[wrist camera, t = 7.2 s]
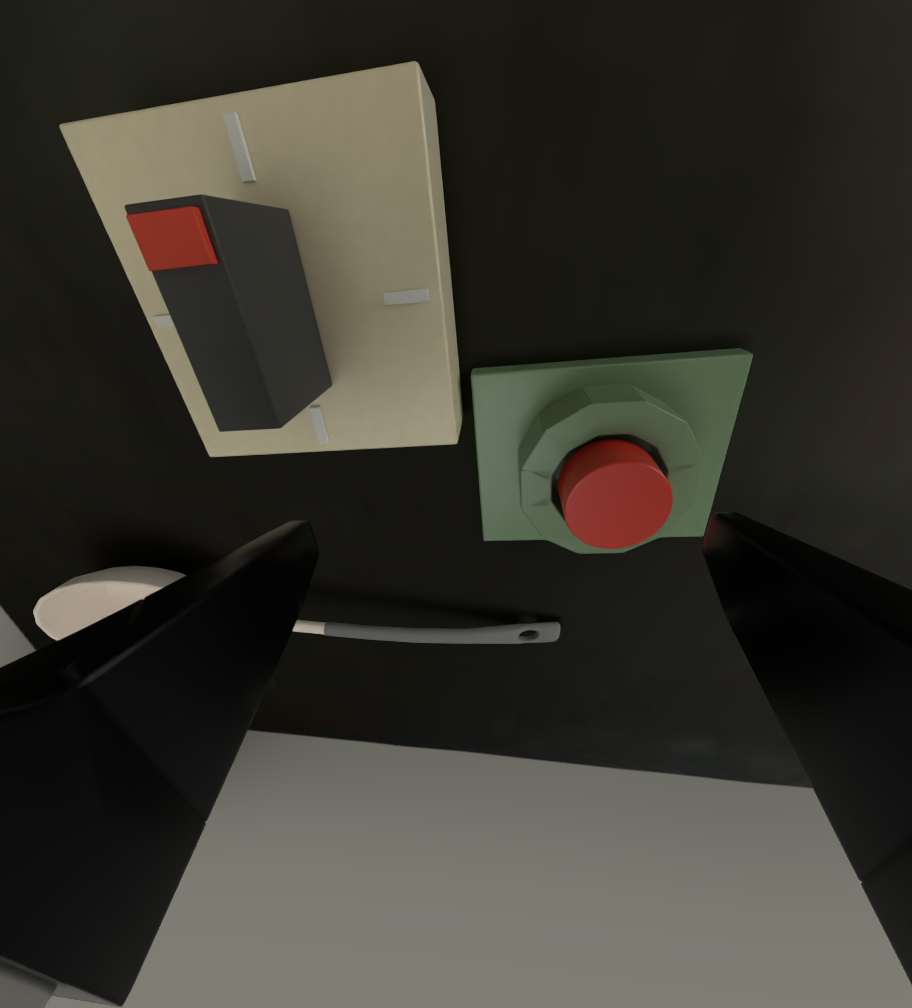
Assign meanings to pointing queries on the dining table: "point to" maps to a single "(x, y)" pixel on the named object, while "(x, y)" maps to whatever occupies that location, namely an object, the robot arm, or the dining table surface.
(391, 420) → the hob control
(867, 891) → the robot arm
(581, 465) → the button
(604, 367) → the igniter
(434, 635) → the ladle
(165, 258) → the hob knob
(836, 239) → the dining table surface
